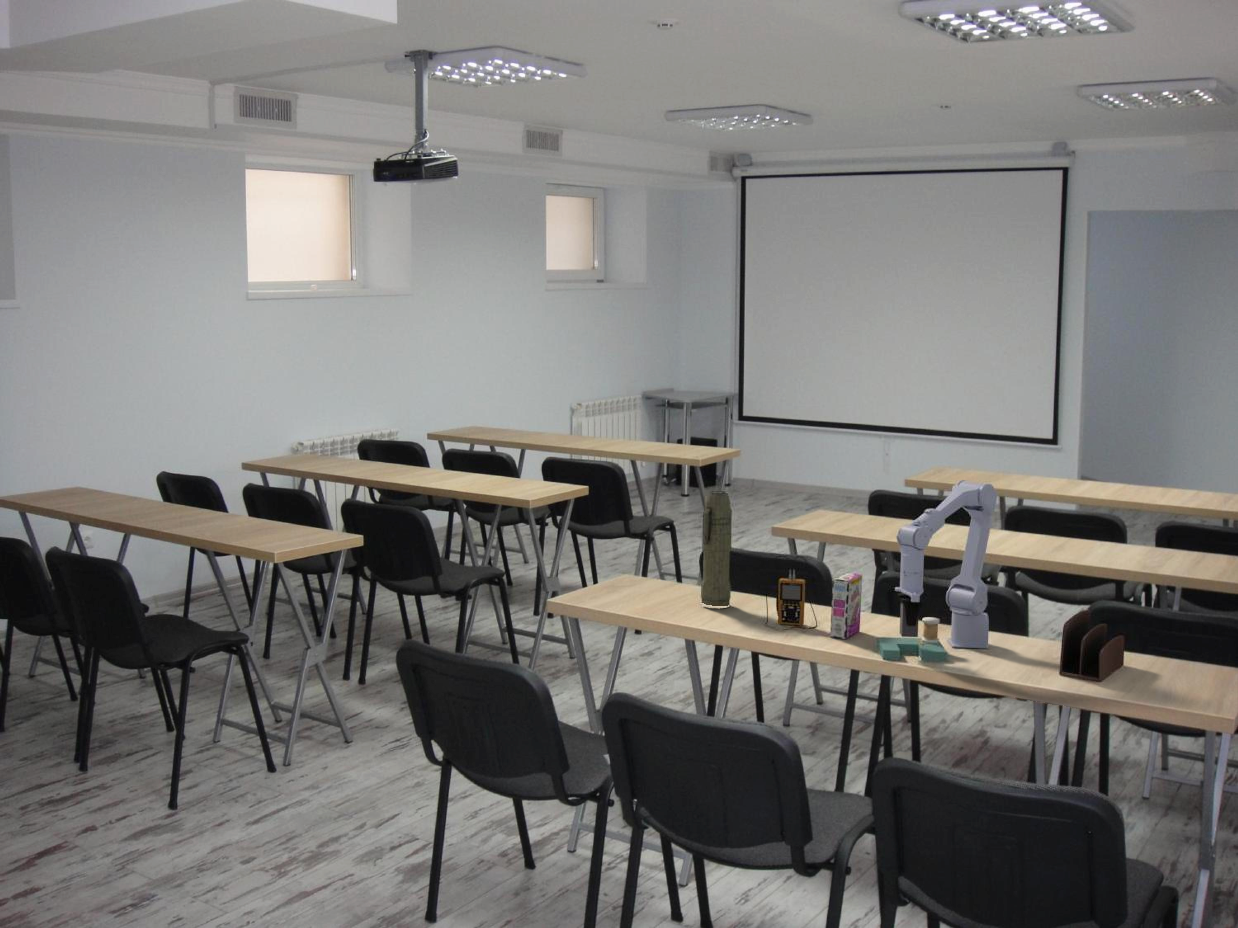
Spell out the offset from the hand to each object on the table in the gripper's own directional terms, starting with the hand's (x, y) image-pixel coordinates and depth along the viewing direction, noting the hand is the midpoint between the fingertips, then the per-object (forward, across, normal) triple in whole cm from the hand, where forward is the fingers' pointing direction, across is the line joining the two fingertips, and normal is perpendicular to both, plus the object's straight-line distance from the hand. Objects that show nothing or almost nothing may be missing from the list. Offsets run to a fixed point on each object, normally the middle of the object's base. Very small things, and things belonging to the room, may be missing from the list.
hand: (909, 623), depth 314 cm
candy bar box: (+9, -21, -14) cm, 27 cm away
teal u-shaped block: (+9, -3, +1) cm, 9 cm away
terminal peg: (+3, 0, 0) cm, 3 cm away
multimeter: (+9, -27, -29) cm, 41 cm away
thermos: (+9, -51, -50) cm, 72 cm away
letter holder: (+9, +7, +44) cm, 46 cm away
